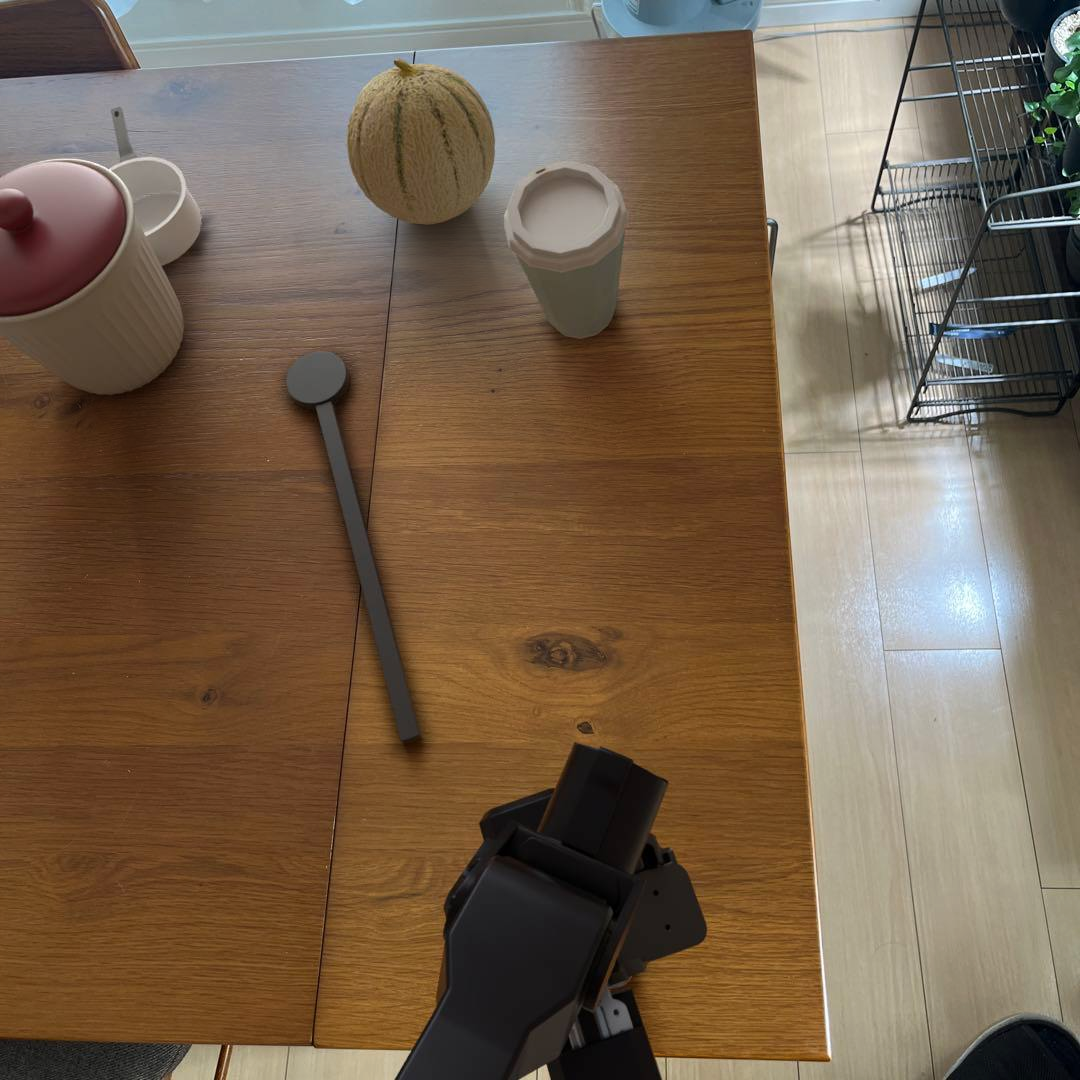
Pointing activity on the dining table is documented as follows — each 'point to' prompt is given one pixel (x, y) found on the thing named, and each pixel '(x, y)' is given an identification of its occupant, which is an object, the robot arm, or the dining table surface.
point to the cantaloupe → (421, 143)
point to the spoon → (354, 520)
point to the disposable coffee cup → (569, 243)
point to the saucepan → (157, 198)
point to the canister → (83, 278)
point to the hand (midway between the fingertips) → (577, 949)
